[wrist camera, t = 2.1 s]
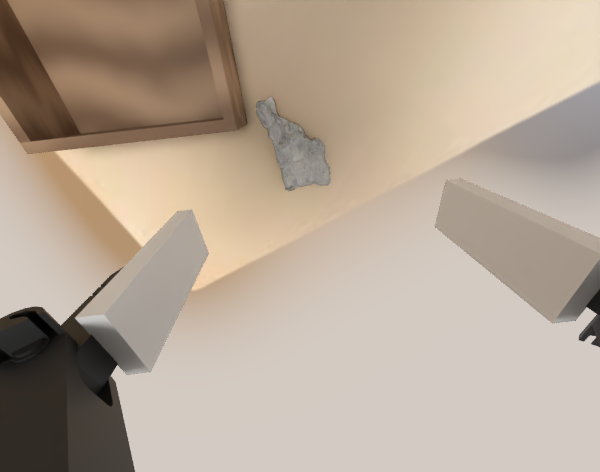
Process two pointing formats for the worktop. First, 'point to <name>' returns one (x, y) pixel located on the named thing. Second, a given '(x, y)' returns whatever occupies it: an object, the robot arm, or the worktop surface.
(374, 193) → the worktop surface
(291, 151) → the mineral specimen
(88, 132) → the walnut well
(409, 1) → the worktop surface
